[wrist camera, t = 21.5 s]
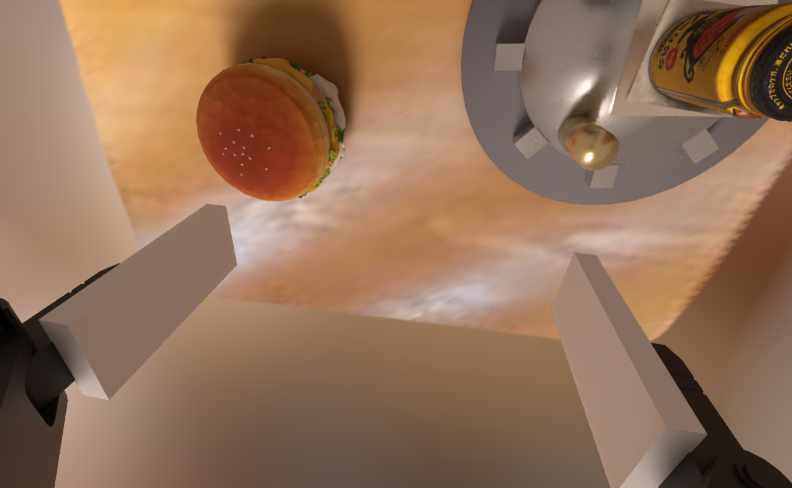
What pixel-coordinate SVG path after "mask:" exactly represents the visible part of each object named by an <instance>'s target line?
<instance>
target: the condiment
mask: <svg viewBox="0 0 792 488" xmlns="http://www.w3.org/2000/svg"><path fill="white" fill-rule="evenodd" d="M626 101H632V102H639V103H645V104H651V105H658V106H664V107H670V108H676V109H682V110H688V111H694V112H700V113H706V114H713V115H718V116H725V117H732V116H737V117H742V118H751V119H761V118H766V117H768V118H773V119H775V120H779V121H788V122H791V121H792V2H788V3H780V4H770V5H751V6H741V5H734V4H726V3H719V2H712V1H705V0H670V1H669V3H668V6H667V8H666V10H665V12H664V14H663V16H662V19H661V21H660V23H659V25H658V27H657V30H656V32H655V34H654V36H653V39H652V41H651V43H650V45H649V48H648V50H647V52H646V55H645V57H644V59H643V62H642V64H641V66H640V69H639V71H638V73H637V76H636V78H635V81H634V83H633V86H632V88H631V90H630V93H629V95H628V97H627V99H626Z"/></svg>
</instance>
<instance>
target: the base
mask: <svg viewBox="0 0 792 488" xmlns="http://www.w3.org/2000/svg"><path fill="white" fill-rule="evenodd" d="M538 2H539V0H473V3H472V6H471V9H470V12H469V15H468V19H467V24H466V29H465V34H464V39H463V48H462V59H461V74H462V89H463V95H464V102H465V107H466V110H467V114H468V117H469V120H470V124H471V126H472V128H473V130H474V133H475V135H476V137H477V139H478V141H479V143H480V144H481V146H482V148H483V149H484V151H485V152H486V154H487V155H488V157H489V158H490V159H491V160H492V161H493V162H494V164H495V165H496V166H497V167H498V168H499V169H500V170H501V171H502V172H503V173H505V174H506V175H507V176H508V177H509V178H510V179H512V180H513V181H515V182H516V183H518V184H519V185H521V186H522V187H524V188H525V189H528V190H530V191H532V192H534V193H536V194H538V195H540V196H544V197H547V198H550V199H553V200H556V201H561V202H567V203H572V204H584V205H603V204H615V203H621V202H628V201H633V200H637V199H641V198H644V197H648V196H652V195H655V194H657V193H660V192H663V191H665V190H668V189H671V188H673V187H675V186H677V185H680V184H682V183H684V182H686V181H688V180H690V179H692V178H694V177H696V176H697V175H699V174H701V173H702V172H704V171H706V170H708V169H709V168H711V167H713V166H714V165H716V164H717V163H718V162H720V161H721V160H723V159H724V158H725V157H727V156H728V155H730V154H731V153H732V152H734V151H735V150H736V149H737V148H738V147H740V146H741V145H742V144H743V143H744V142H745V141H747V140H748V139H749V138H750V137H751V136H752V135H754V134H755V132H756V131H757V130H758V129H759V128H760V127H761V126H762V125H763V124H764V123H765V122H766V121H767V120H768V119H769V118H768V117H766V118H761V119H751V118H742V117H737V116H732V117H721V118H720V119H718V120H717V121H716V122H715V123H714V124H713V125H712V126H710V127H709V128H708V129H707V131H708V132H709V134H710V135H711V137H712V138H713V140H714V142H715V143H716V145H717V146H718V148H719V149H718V150H716V151H715V152H713V153H711V154H710V155H708V156H707V157H705V158H703V159H702V160H700V161H699V162H697V163H696V164H694V163H692V162H690V161H688V160H687V159H685V158H683V157H682V156H681V154H680V153H679V151H678V150H677V149H675V150H672V151H670V152H668V153H666V154H664V155H661V156H658V157H655V158H653V159H650V160H646V161H642V162H638V163H633V164H626V165H619V168H618V171H617V174H616V177H615V181H614V184H613V187H612V188H590V187H589V186H588V185H587V183H586V182H585V181H584V177H585V173H586V169H584V168H582V167H581V166H580V165H579V164H578V163H577V162H576V161H575V160H574V159H573V158H571V157H569V156H567V155H565V154H563V153H561V152H559V151H558V150H557V149H555V148H554V147H553V146H551V145H550V144H549V143H548V144H546V145H545V146H544V147H543V148H541V149H540V150H539V151H537V152H536V153H535V154H534V155H532V156H531V157H530V158H529V159H527V158H526V157H525V156H524V155H523V154H522V153H521V151H520V150H519V149H518V148H517V147H516V146H515V144H514V143H513V141H512V138H513V137H514V136H515V135H517V134H518V133H519V132H520V131H521V130H522V129H524V128H525V127H526V126H527V125H528V124H530V123H531V121H530V119H529V117H528V115H527V113H526V111H525V109H524V106H523V102H522V99H521V95H520V90H519V82H518V71H494V70H493V69H492V66H493V57H494V47H495V43H522V40H523V37H524V33H525V30H526V27H527V24H528V22H529V20H530V17H531V15H532V13H533V11H534V9H535V7H536V5H537V3H538ZM788 2H792V0H779V4H780V3H788Z"/></svg>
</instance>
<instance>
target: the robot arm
mask: <svg viewBox="0 0 792 488" xmlns="http://www.w3.org/2000/svg"><path fill="white" fill-rule="evenodd" d="M236 265H237V262H236V256H235V251H234V246H233V241H232V236H231V230H230V225H229V220H228V215H227V210H226V206H220V205H213V204H206V205H205V206H203V207H202V208H200V209H199V210H198V211H196V212H195V213H193V214H192V215H190V216H189V217H187V218H186V219H184V220H183V221H182V222H180V223H179V224H177V225H176V226H174V227H173V228H171V229H170V230H168V231H167V232H166V233H164V234H163V235H161V236H160V237H158V238H157V239H155V240H154V241H152V242H151V243H150V244H148V245H147V246H145V247H144V248H142V249H141V250H139V251H138V252H136V253H135V254H133V255H132V256H131V257H129V258H128V259H126V260H125V261H123V262H122V263H119V264H116V265H114V266H111V267H109V268H107V269H104V270H102V271H100V272H98V273H97V274H95V275H94V276H92V277H91V278H89V279H88V280H86V281H85V283H84V284H80V285H79V286H77V287H76V288H74V289H73V290H72V292H71V293H69V292H68V293H67V294H65V295H64V296H62V297H61V298H59V299H58V300H56V301H55V302H53V303H52V304H50V305H49V306H47V307H46V308H44V309H43V310H41V311H40V312H39V313H37V314H36V315H34V316H32V317H31V318H29V319H28V320H27V321H25V322H24V323H21V322H20V320H19V318H18V317H17V315H16V314H15V312H14V311H13V309H12V307H11V306H10V304H9V303H8V302H7V301H6V300H4V299H2V298H0V488H54V486H55V479H56V473H57V467H58V460H59V454H60V447H61V441H62V435H63V428H64V422H65V415H66V408H67V402H68V400H67V395H66V393H65V391H64V390H65V389H66V388H67V387H68V386H69V385H70V384H71V383H73V382H74V381H75V382H76V384H77V385H78V387H79V389H80V391H81V392H82V394H83V395H85V396H91V397H96V398H102V399H107V400H109V399H110V398H111V397H112V396H113V395H114V394H115V393H116V392H117V391H118V390H119V389H120V388H121V387H122V386H123V385H124V384H125V382H126V381H127V380H128V379H129V378H130V377H131V376H132V375H133V374H134V373H135V372H136V371H137V369H139V368H140V367H141V366H142V365H143V363H144V362H145V361H146V360H147V359H148V358H149V357H150V356H151V355H152V354H153V353H154V352H155V351H156V350H157V349H158V348H159V347H160V346H161V344H162V343H163V342H164V341H165V340H166V339H167V338H168V337H169V336H170V335H171V334H172V333H173V332H174V330H176V329H177V328H178V326H179V325H180V324H181V323H182V322H183V321H184V320H185V319H186V318H187V317H188V316H189V315H190V314H191V313H192V312H193V311H194V309H196V307H197V306H198V305H199V304H200V303H201V302H202V301H203V300H204V299H205V298H206V297H207V296H208V295H209V294H210V293H211V292H212V291H213V290H214V289H215V287H216V286H217V285H218V284H219V283H220V282H221V281H222V280H223V279H224V278H225V277H226V276H227V275H228V274H229V273H230V272H231V271H232V270H233V268H234V267H235V266H236ZM551 312H552V315H553V318H554V321H555V324H556V327H557V330H558V333H559V336H560V339H561V342H562V345H563V347H564V350H565V353H566V357H567V360H568V362H569V365H570V368H571V371H572V374H573V377H574V380H575V383H576V386H577V389H578V392H579V395H580V398H581V401H582V404H583V407H584V410H585V413H586V416H587V419H588V422H589V425H590V428H591V431H592V434H593V437H594V440H595V443H596V446H597V449H598V452H599V455H600V458H601V461H602V464H603V467H604V470H605V472H606V475H607V478H608V482H609V484H610V488H792V483H791V482H790V481H789V480H788V479H787V478H786V477H785V476H784V475H783V474H782V473H781V472H780V471H779V470H778V469H777V468H775V467H774V466H772V465H771V464H770V463H768V462H767V461H766V460H764V459H762V458H761V457H759V456H757V455H755V454H753V453H751V452H748V451H745V450H743V448H742V447H741V445H740V444H739V443H738V441H737V439H736V438H735V437H734V435H733V434H732V432H731V431H730V429H729V428H728V426H727V425H726V423H725V422H724V420H723V419H722V418H721V416H720V415H719V413H718V412H717V410H716V409H715V407H714V406H713V404H712V403H711V402H710V400H709V399H708V397H707V396H706V395H704V394H703V390H702V388H701V387H700V385H699V384H698V383H697V381H696V380H694V377H693V375H692V374H691V372H690V371H689V369H688V368H687V366H686V365H685V364H684V362H683V361H682V360H681V359H680V358H679V357H678V356H677V355H676V354H674V353H673V352H672V351H671V350H670V349H669V348H668V347H667V346H665V345H661V344H654V343H650V341H649V340H648V338H647V336H646V335H645V333H644V332H643V330H642V328H641V327H640V325H639V324H638V322H637V320H636V319H635V317H634V315H633V314H632V312H631V311H630V309H629V307H628V306H627V304H626V303H625V301H624V299H623V298H622V296H621V295H620V293H619V291H618V290H617V288H616V286H615V285H614V283H613V282H612V280H611V278H610V277H609V275H608V274H607V272H606V270H605V269H604V267H603V266H602V264H601V262H600V261H599V259H598V258H597V256H596V255H589V254H581V253H574V254H573V256H572V259H571V261H570V264H569V267H568V269H567V272H566V274H565V277H564V280H563V282H562V285H561V287H560V290H559V292H558V295H557V298H556V300H555V303H554V305H553V308H552V310H551Z"/></svg>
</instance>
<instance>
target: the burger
mask: <svg viewBox="0 0 792 488" xmlns="http://www.w3.org/2000/svg"><path fill="white" fill-rule="evenodd" d="M345 121H346V118H345V114H344V111H343V108H342V106H341V104H340V102H339V98H338V89H337V87H336V86H335V84H333V83H331V82H329V81H327V80H326V79H324V78H323V77H321V76H319V75H318V74H316V75H313V74H312V73H311V72H306V71H304V70H303V69H301V67H300V66H299V65H298V64H295V63H293V62H290V61H286V60H285V59H283V58H271V59H267V58H266V57H263V58H262V59H255V60H254V59H250V60H249V61H244V62H243V63H242V64H239V65H236V66H233V67H231V68H228V69H225V70H223V71H222V72H220V73H219V74H218V75H216V76H215V77H214V78H213V79H212V80H211V81H210V82H209V83H208V85H207V86H206V88H205V89H204V91H203V93H202V95H201V97H200V101H199V105H198V109H197V118H196V123H197V130H198V136H199V139H200V142H201V145H202V148H203V151H204V153H205V155H206V157H207V159H208V160H209V162H210V163H211V165H212V166H213V168H214V169H215V170H216V172H217V173H218V174H219V175H220V176H221V177H222V178H223V179H224V180H225V181H226V182H227V183H229V184H230V185H232V186H233V187H235V188H236V189H238V190H239V191H241V192H242V193H244V194H246V195H249V196H252V197H254V198H258V199H261V200H266V201H285V200H291V199H294V198H296V197H299V198H302V196H306V194H307V193H308V192H310V191H314V190H316V189H317V188H318V187H319V186H320V184H321V182H322V181H323V179H325V178H326V177H327V176H328V175H329V173H330V172H331V170H332V169H333V168H334V167H336V166H337V164H338V162H339V160H340V159H341V158H342V157H343V156H344V151H345V149H344V145H343V144H342V142H343V138H344V131H345V128H346V127H347V126H346V124H345Z"/></svg>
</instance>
